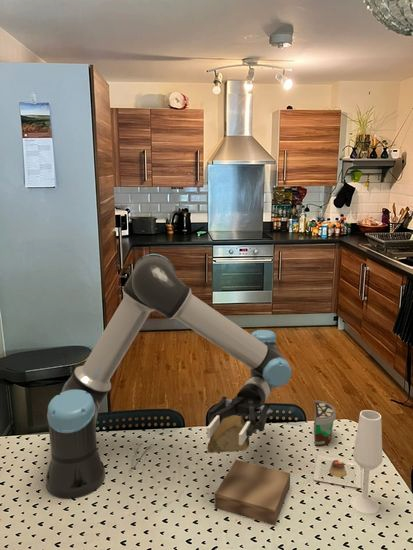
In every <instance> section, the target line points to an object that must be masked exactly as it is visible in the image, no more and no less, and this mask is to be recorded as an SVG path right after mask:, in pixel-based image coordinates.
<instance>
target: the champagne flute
mask: <svg viewBox="0 0 413 550" xmlns="http://www.w3.org/2000/svg"><path fill="white" fill-rule="evenodd" d="M382 428H383V427H382V415H381V414H380V413H379V412H377V411H375V410H371V409H370V410H369V409H365V410H364V409H363V410H361V411H360V413H359V417H358V423H357V430H356V435H355V440H354V446H353V454H352V455H353V459H354V461H356V462H357V464H358V465H359V466H360V467H361V469H362V470H364V471H363V485H362V495H361V494H359V495H354V496H352V498H350V501H349V502H350V505H351V507H352V508H353V509H354V510H356V511H357V512H358V513H362V514H366V515H371V514H372V515H373V514H376V513H377V512H378V511H379V509H380V506H379V503H378V502H377V501H376V500H375V499H373V498H372V497H370V496H368V495H369V494H368V493H369V482H370V481H369V480H370V472H371V471H373V470H375V469H377V468H378V467H379V466H380V465H382V463H383V460H384V459H383V435H382V434H383V433H382V430H383V429H382Z"/></svg>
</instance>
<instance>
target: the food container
mask: <svg viewBox="0 0 413 550" xmlns="http://www.w3.org/2000/svg"><path fill="white" fill-rule="evenodd" d="M336 419H337V413H336V410H335V408H334V406H333V405H331V404H330V403H328V402H326V401H322V400H317V399H315V401H314V419H313V420H314V421H313V422H314V423H313V435H314V436H313V437H314V438H313V439H314V447H324V446H327V445H329V444H330V443H331V441H332V435H333V434H332V433H333V425H334V421H335V420H336Z"/></svg>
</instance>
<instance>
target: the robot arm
mask: <svg viewBox="0 0 413 550" xmlns="http://www.w3.org/2000/svg"><path fill="white" fill-rule="evenodd" d="M174 266H175V265H173V263H172V262H171V261H170V260H169V259H168V258H167V257H166V256H163V255H162V254H157V253H150V254H146V255H144V256H142V257H141V258H139V259H138V260H137V262H136V263H135V265H134V267H133V270H132V272H131V274H130V276H129V277H128V279H127V280H126V282H125V284H124V286H123V288H122V292H123V293H122V294H123V298H122V300H121V301H120V304H119V305H118V307H117V308H116V309H115V312H114V314H113V315H112V317H111V319H110V320H109V322H108V324H107V325H106V327H105V329H104V330H103V332H102V334H101V335H100V337H99V339H98V341H97V343H95V345H94V347H93V349H92V350H91V352H90V353H89V356H88V357H87V359H86V360H85V362H84V364H83V365H81V366H77V367H75V369H74V371H73V372H72V374H71V376H70V377H69V378H68V380H67V381H65V383H64V385H63V387H62V388H61V389H62V390H61V392H60V393H59V394H57V395H55V396H54V397H52V398H51V400H50V402H49V404H48V406H47V415H46V417H47V423H48V432H49V444H50V454H51V458H50V461H49V465H48V469H47V473H46V478H45V479H46V488H47V490H48V492H49V493H50V494H51V495H53V496H54V497H57V498H61V499H74V498H79V497H84V496H87V495H89V494H91V493H93V492H94V491H96V490H97V489H99V487H101V485H102V484H103V483H104V481H105V478H106V468H105V464H104V462H103V461H102V458H101V456H100V454H99V451H98V448H97V447H98V446H97V433H96V432H97V430H96V427H97V426H96V425H97V420H98V419H97V418H98V415H99V410H100V407H101V405H102V403H103V402H104V400H105V398H106V397H107V395H108V394H109V392H110V390H111V389H112V383H111V381H110V380H111V378H112V377H113V376H114V373H115V372H116V370H117V368H118V367H119V365H120V363H121V362H122V360H123V358H124V356H125V355H127V354H126V353H127V352H128V351H129V349H130V347H131V345H132V344H133V342H134V340H135V338H136V337H137V335H138V334H139V332H140V330H141V328H142V327H143V325H144V324H145V322H146V320H147V319H148V317H149V315H150V314H151V313H152V312H158V313H159V314H160V315H162V316H163V317H165V318H166V319H168V320H173V319H175V320H177V321H178V322H180V323H181V324H183V325H185V326H186V327H187V328H189V329H191V330H192V331H194V332H195V333H196V334H198V335H199V336H201V337H203V338H204V339H205V340H207V341H208V342H211V343H212V344H213V345H215V346H216V347H217V348H219V349H221V350H223V352H226V354H228V355H230V356H231V357H233V358H234V359H236V360H237V361H239V362H241V363H242V364H243V365H245V366H246V367H248V368H250V374H249V375H250V377H249V378H248V379H247V381H246V382H245V383H244V384H243V386H242V387H241V389H240V390H239V391H238V392H237V394H236V396H235V397H233V398H232V399H228V398H227V396H222V398H221V400H220V401H218V402H217V403H216V404H214V406H213V407H211V408H210V409H209V410H208V411H207V413H208V415H207V421H208V426H207V427H206V437H207V439H210V438H211V436H212V435H213V433H214V432H215V431H216V429H217V428H218V426H219V425H220V424H221V422H222V419H223V418H227V417H230V416H232V415H239V414H243V415H248V420H247V421H246V422H245V426H244V427H243V429H242V430H241V432H240V433H239V445H242V444H243V443H244V441H245V439H246V438H247V436H249V437H251V436H253V434H254V432H256V431H258V432H261V433H262V432H264V429H265V426H266V423H267V418H268V417H269V416H270V415H271V404H266V405H265V403H266V402H267V400H268V398H269V397H270V395H271V393H272V392H273V390H274V389H275V388H281V387H284V386H285V385H286V384H287V383H288V382H289V381H291V378H292V368H291V366H290V363H289V362H288V360H287V359H286V358H285V357H284V355H283V354H282V353H281V351H280V350H279V348H278V347H277V337H276V335H277V334H276V333H275V332H273V331H272V330H268V329H257V330H254V331H253V332H251V333H249V332H248V331H247V330H245V329H243V328H242V327H241V326H239V325H238V324H236V323H235V322H233V321H232V320H230V319H229V318H227V317H226V316H225V315H224V314H222V313H220V312H219V311H218V310H216V309H214V308H213V307H211V306H210V305H208V304H207V303H205V302H204V301H202V300H201V299H199V298H198V297H197V296H195V295H194V294H193V293H192V288H191V287H189V286H188V285H186V284H185V283H184V282H183V281H182V280H180V278H179V277H178V276H177V275H176V270H175V267H174ZM259 412H260V416H259V419H258V421H257V419H256V415H255V414H256V413H259Z"/></svg>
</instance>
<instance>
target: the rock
mask: <svg viewBox="0 0 413 550" xmlns="http://www.w3.org/2000/svg"><path fill="white" fill-rule="evenodd" d="M245 424H246V422H245V419H244V418H243V415H239V414H237V415H232V416H230V417H227V418H223V419H222V421H221V422H220V425H219V426H218V428H217V429H216V431H215V432H214V433H213V435H212V436H211V438H209V441H208V443H207V447H206V448H207V452H208V453H209V454H215V453H216V454H217V453H228V452H229V453H233V452H240V451H241V452H243V451H247V449H249V447H250V436H247V438H246V439H245V441H244V443H243V444H242V445H239V433H240V432H241V430H242V429H243V427H244V426H245Z"/></svg>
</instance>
